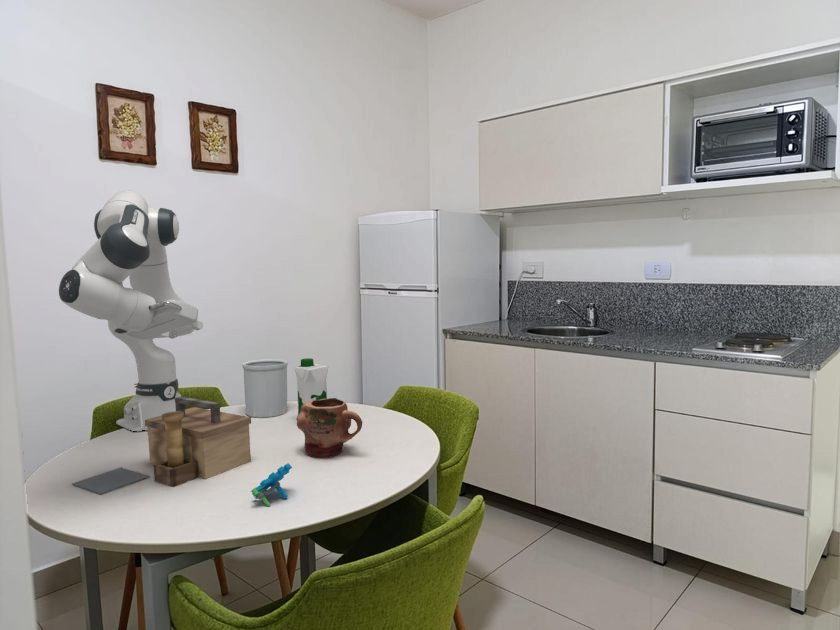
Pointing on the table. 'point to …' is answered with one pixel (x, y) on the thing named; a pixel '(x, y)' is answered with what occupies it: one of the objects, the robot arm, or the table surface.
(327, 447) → the pink ceramic mug
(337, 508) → the table surface
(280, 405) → the utensil holder
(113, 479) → the mat
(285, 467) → the gear
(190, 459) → the toolbox
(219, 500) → the table surface
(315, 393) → the milk carton
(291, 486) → the table surface
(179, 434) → the tan cylinder
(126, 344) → the robot arm
